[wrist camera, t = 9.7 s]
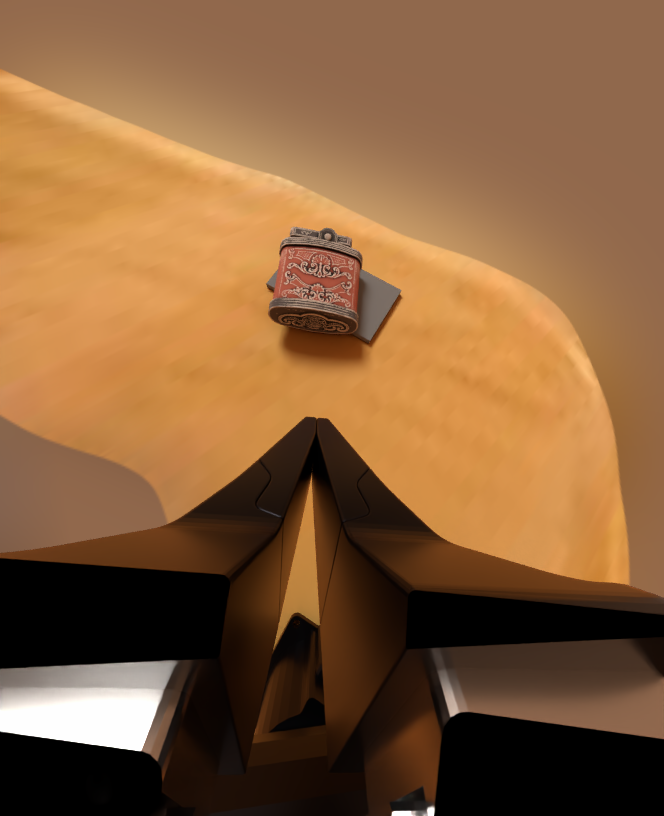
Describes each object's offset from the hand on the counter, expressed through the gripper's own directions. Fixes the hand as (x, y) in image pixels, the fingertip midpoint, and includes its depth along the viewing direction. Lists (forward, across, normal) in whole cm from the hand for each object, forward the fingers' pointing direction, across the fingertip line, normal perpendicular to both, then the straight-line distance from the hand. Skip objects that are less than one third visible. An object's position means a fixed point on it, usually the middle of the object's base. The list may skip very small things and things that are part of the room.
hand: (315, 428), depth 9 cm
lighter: (+15, +1, -1) cm, 15 cm away
